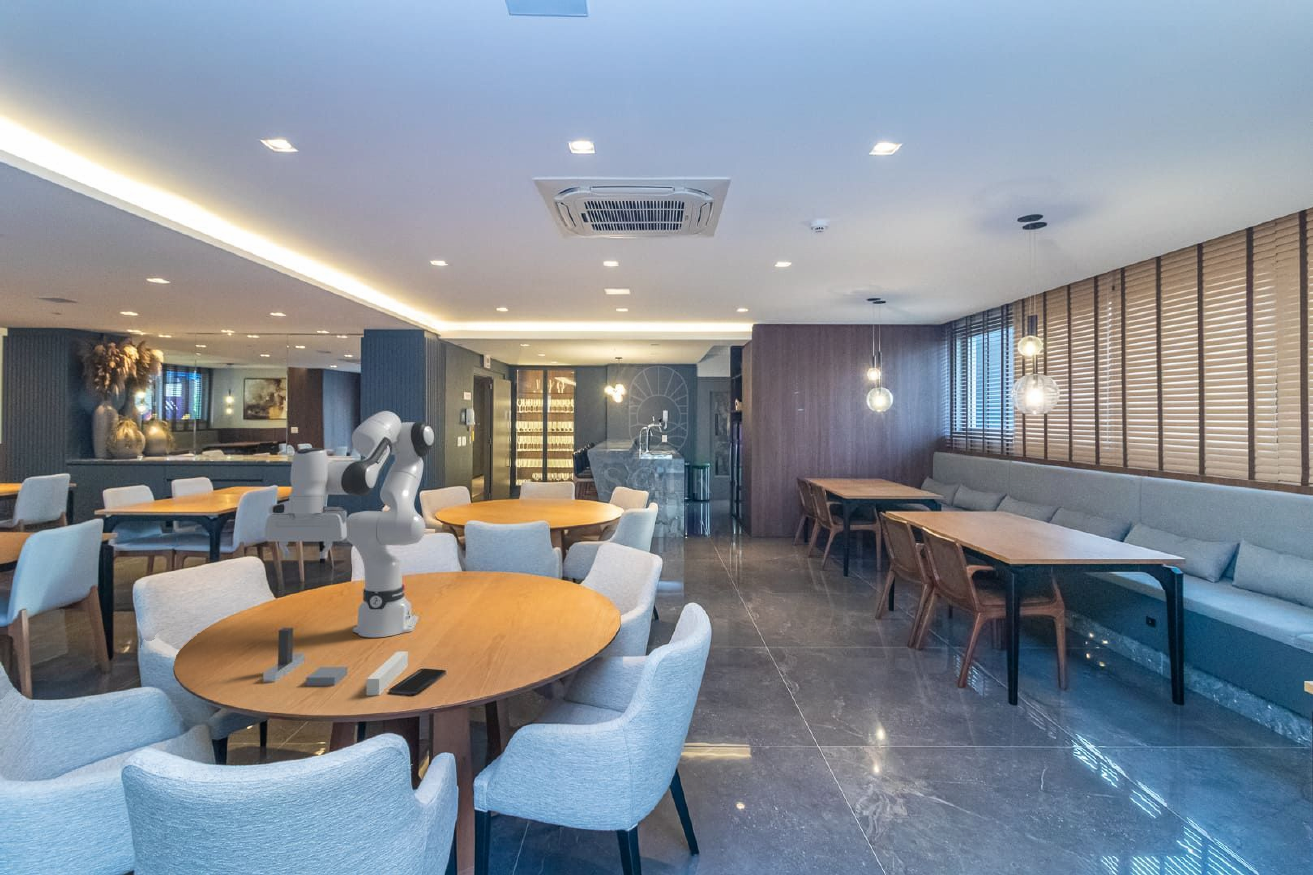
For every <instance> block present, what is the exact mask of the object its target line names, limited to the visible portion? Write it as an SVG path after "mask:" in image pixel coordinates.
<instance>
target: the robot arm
mask: <svg viewBox="0 0 1313 875" xmlns="http://www.w3.org/2000/svg"><path fill="white" fill-rule="evenodd" d="M435 438H436V436H435V431H434V429H433V427H432V426H431V425H430V424H429V423H427V422H424V421H411V422H409V421H407V422H402V420H401V418H400V417H399V416H398V415H397V414H396V413H394V412H392V411H389V410H383V411H379V412H377V413H375V414H373V415H371V416H369V417H368V418H367V419H366V420H364V421H363V422H362V423H360V424H359V425H358V427H356V428H355V429H354V431H353V433H352V434H351V441H352V447H353V448H354V450H355V451H356V452H357V453H358V454H359V455H360V456H362V457H364V458H363V459H362V460H361V459H360V460H344V461H343V460H339V461H337V460H333V459H332V458H330V457H329V456H328V453H327V450H326V449H325V448H322V447H311V448H310V447H309V448H307V447H306V448H300V449H298V450H296V451H295V452H294V454H293V457H292V461H291V467H290V484H291V489H290V490H291V491H290V493H289V497H288V498H289V499H288V500H286V501H282V502H280V503H276V504H273V505H270V506H269V507H268V512H269V514H270V515H269V516H268V517H267V518H266V520H265V525H264V526H265V527H264V539H265V540H266V541H267V542H269V543H270V542H278V547H279V549H280V550H281V552H282V559H283V560H284V559H288V560H289V559H292V558H293V557H292V554H293V551H289V549H288V547H287V546H288V545H289V542H323V546H324V548H323V549H322V551H319V552H318V555H319V556H318V558H319V559H327V558H328V554H329V550H330V549H331V548H332V547H333V545H334V544H333V543H334V542H343V541H345V540H346V541H348V542H349V543H350V544H351V545H352V546H353V547H355V550H357V552H358V554H359V556H360V557H361V559H362V563H363V568H364V588H363V589H362V601H363V602H362V603H361V604H360V605H359V606H358V612H357V623H356V626H355V627H353V628H352V632H354V633H356V634H358V635H359V636H360V637H364V638H384V637H385V638H387V637H390V636H391V637H392V636H396V635H399V634H402V633H409V632H413V630H414V629H415V626H416V624H417V622H418V621H419V616H418V615H414V614H412V603H411V602H410V601H408V600H407V598H406V597H405V590H406V588H407V584H406V583H403V564H402V561H401V560H400V559H399V558H398V557H396V556H395V555H393V554H391V552H390V551H389V550H388V547H387V546H400V547H401V546H402V547H403V546H409V545H414V544H417V543H419V542H420V541H421V540H422V539H423V537H424V536H425V533H426V522H425V519H424V517H423V516H421V515H420V514H419V513H418V512H417V510H416V508H415V500H416V496H417V494H418V489H419V487H420V484H421V480H422V477H423V472H424V460H423V459H422V458H424V457H426V456H427V455H428V453H429V451H431V449H432V447H433V445H434V443H435ZM391 456H394V461H393V463H392V464H391V466H390V468H389V470H388V471H387V472H388V473H387V474H386V477H385V478H384V482H383V484H382V486H381V489H380V491H379V497H380V500H381V502H382V503H383V505H385V506H386V507H388V508H389V509H388V510H385V511H383V510H379V511H378V510H376V511H375V510H365V511H359V512H357V511H356V512H353V513H351V514H349V515H348V512H347V510H346V509H345V508H343V507H341V506H336V507H334V506H327V500H328V499H327V498H328V496H327V495H335V496H336V495H338V496H339V495H340V496H341V495H345V496H346V495H350V496H358V497H364V496H367V495H368V494H369V493H370V492H371V491H372V490H373V489H374V488H375V486H376V484H377V480H378V478H379V475H380V474H381V473H382V471H383V469H384V467H385V465H386V464H387V462H388V461H389V460H390V458H391Z"/></svg>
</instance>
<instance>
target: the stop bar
mask: <svg viewBox="0 0 1313 875" xmlns="http://www.w3.org/2000/svg"><path fill="white" fill-rule="evenodd" d="M408 659H409V651H396V652H395V653H393V654H392V655H391V657H389V658H388V659H387V660H386V661H385V662H384V663H383V664H381V665H380V666H379V667H378V668H377V669H376V670H375V671H374V672H373V673H372V674H371V675H369V676H368V677H367V678H366V696H381V694H382V693H383V692H384V691H385V690H386V689H387V687H389V686H390V685H391V684H392V683H393V682H394V681H395V679H397V678H398V677H399V676H400V674H402V673H403V672H404V670H406V668H408V664H409V660H408ZM384 689H385V690H384Z"/></svg>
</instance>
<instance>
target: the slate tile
mask: <svg viewBox="0 0 1313 875" xmlns="http://www.w3.org/2000/svg"><path fill="white" fill-rule="evenodd" d="M348 669H349V667H348V666H320V667H319V668H317V669H315V670H314V671H313V672H311V673H310V674H309V675H307V677H306V678H305V687H320V686H321V687H330V686H331V687H334V686H336V685H337V684H338V683H340V682H341V681H342V680H343V679H344V678H345V676H346V677H347V676H348V673H349V672H348ZM339 681H340V682H339Z"/></svg>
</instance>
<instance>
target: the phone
mask: <svg viewBox="0 0 1313 875" xmlns="http://www.w3.org/2000/svg"><path fill="white" fill-rule="evenodd" d="M446 675H447V670H445V669H435V668H420V669H417V671H415V672H413V673H411V674H409V676H407V677H406V678H404V679H402V680H401V681H400V682H398V683H396V684H395V685H394V686H392V687H390V688H389V689H388V694H389V693H390V695H396V696H397V695H398V696H405V697H406V696H408V697H416V696H418V695H420V694H421V693H423V692H424V691H425V690H427V689H428V688H430V686H433V685H434V684H435V683H437V682H438V681H439V680H441V679H442V678H443V677H444V676H446Z"/></svg>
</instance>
